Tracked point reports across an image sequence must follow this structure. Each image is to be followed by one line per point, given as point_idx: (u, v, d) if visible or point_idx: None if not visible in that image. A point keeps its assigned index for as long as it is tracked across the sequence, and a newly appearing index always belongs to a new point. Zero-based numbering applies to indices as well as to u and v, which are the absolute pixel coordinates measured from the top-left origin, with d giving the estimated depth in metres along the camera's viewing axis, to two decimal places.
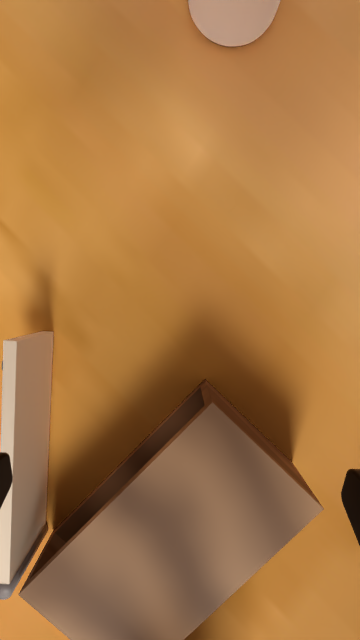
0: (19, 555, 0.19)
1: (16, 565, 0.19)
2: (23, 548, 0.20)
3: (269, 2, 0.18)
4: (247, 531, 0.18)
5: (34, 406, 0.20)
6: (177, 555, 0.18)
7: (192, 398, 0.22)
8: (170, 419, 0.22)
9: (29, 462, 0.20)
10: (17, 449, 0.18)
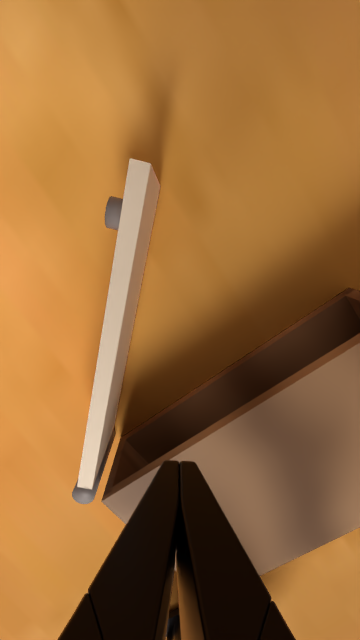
0: (100, 460, 0.16)
1: (97, 470, 0.16)
2: (102, 452, 0.16)
3: None
4: None
5: (136, 282, 0.14)
6: (301, 486, 0.15)
7: (331, 309, 0.17)
8: (295, 332, 0.17)
9: (121, 355, 0.15)
10: (121, 333, 0.13)
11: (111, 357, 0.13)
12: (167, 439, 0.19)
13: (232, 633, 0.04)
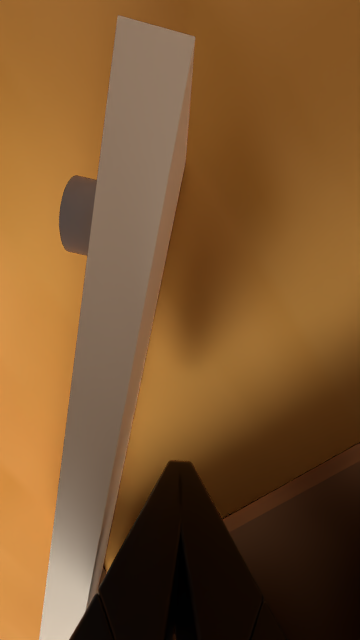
0: None
1: None
2: None
3: None
4: None
5: (139, 366, 0.07)
6: None
7: None
8: None
9: (111, 507, 0.07)
10: (106, 512, 0.05)
11: (81, 576, 0.05)
12: None
13: (224, 633, 0.04)
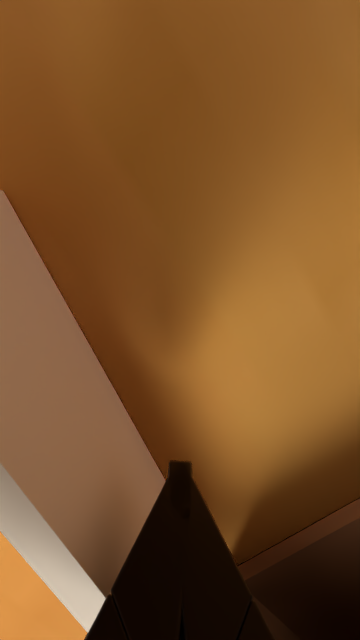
0: None
1: None
2: None
3: None
4: None
5: (59, 387, 0.07)
6: None
7: None
8: None
9: (130, 514, 0.07)
10: (78, 527, 0.05)
11: (88, 592, 0.05)
12: (305, 579, 0.12)
13: (211, 632, 0.04)
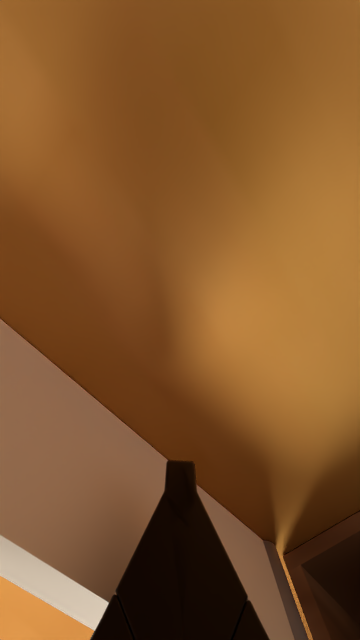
0: None
1: None
2: (279, 638, 0.09)
3: None
4: None
5: (27, 421, 0.07)
6: None
7: None
8: None
9: (139, 518, 0.08)
10: (68, 546, 0.06)
11: (94, 603, 0.05)
12: None
13: (205, 632, 0.04)
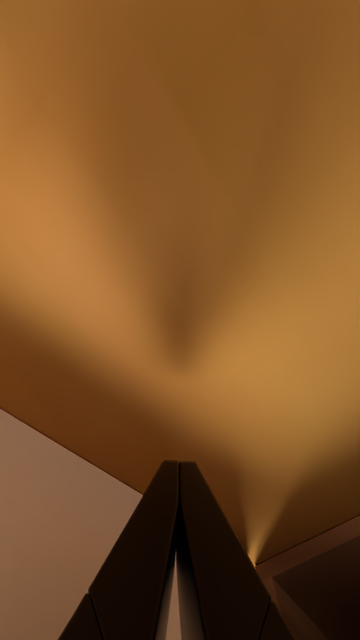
0: None
1: None
2: None
3: None
4: None
5: None
6: None
7: None
8: None
9: (50, 547, 0.07)
10: None
11: None
12: (344, 577, 0.11)
13: (232, 633, 0.04)
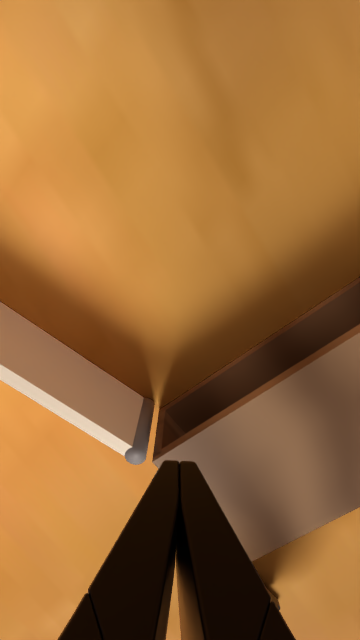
0: (122, 425, 0.17)
1: (127, 432, 0.16)
2: (123, 419, 0.17)
3: None
4: None
5: None
6: (344, 446, 0.16)
7: None
8: (332, 303, 0.18)
9: (38, 359, 0.16)
10: None
11: (4, 370, 0.14)
12: (205, 410, 0.20)
13: (232, 633, 0.04)
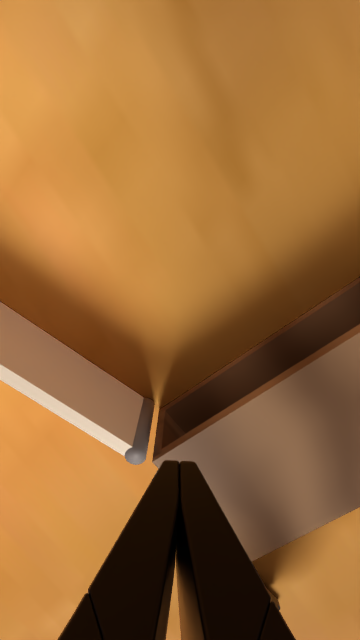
0: (122, 425, 0.17)
1: (127, 432, 0.16)
2: (123, 419, 0.17)
3: None
4: None
5: None
6: (344, 446, 0.16)
7: None
8: (332, 303, 0.18)
9: (38, 359, 0.16)
10: None
11: (4, 370, 0.14)
12: (205, 410, 0.20)
13: (232, 633, 0.04)
